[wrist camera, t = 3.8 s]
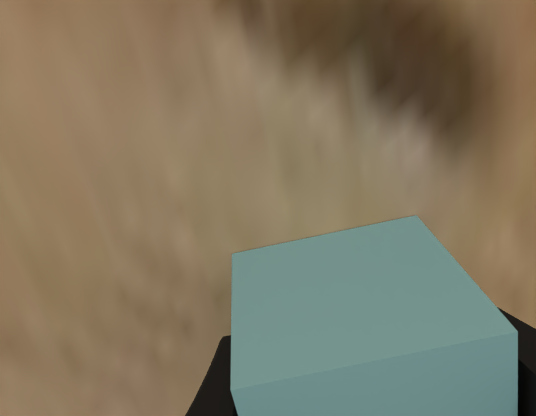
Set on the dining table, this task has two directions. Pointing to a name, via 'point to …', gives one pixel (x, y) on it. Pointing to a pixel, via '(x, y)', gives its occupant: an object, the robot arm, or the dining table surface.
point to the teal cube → (367, 329)
